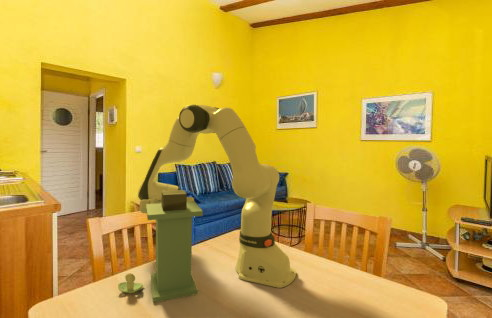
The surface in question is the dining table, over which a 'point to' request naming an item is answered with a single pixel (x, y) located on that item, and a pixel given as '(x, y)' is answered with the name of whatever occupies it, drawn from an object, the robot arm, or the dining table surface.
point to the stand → (173, 251)
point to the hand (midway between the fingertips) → (169, 198)
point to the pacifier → (130, 284)
